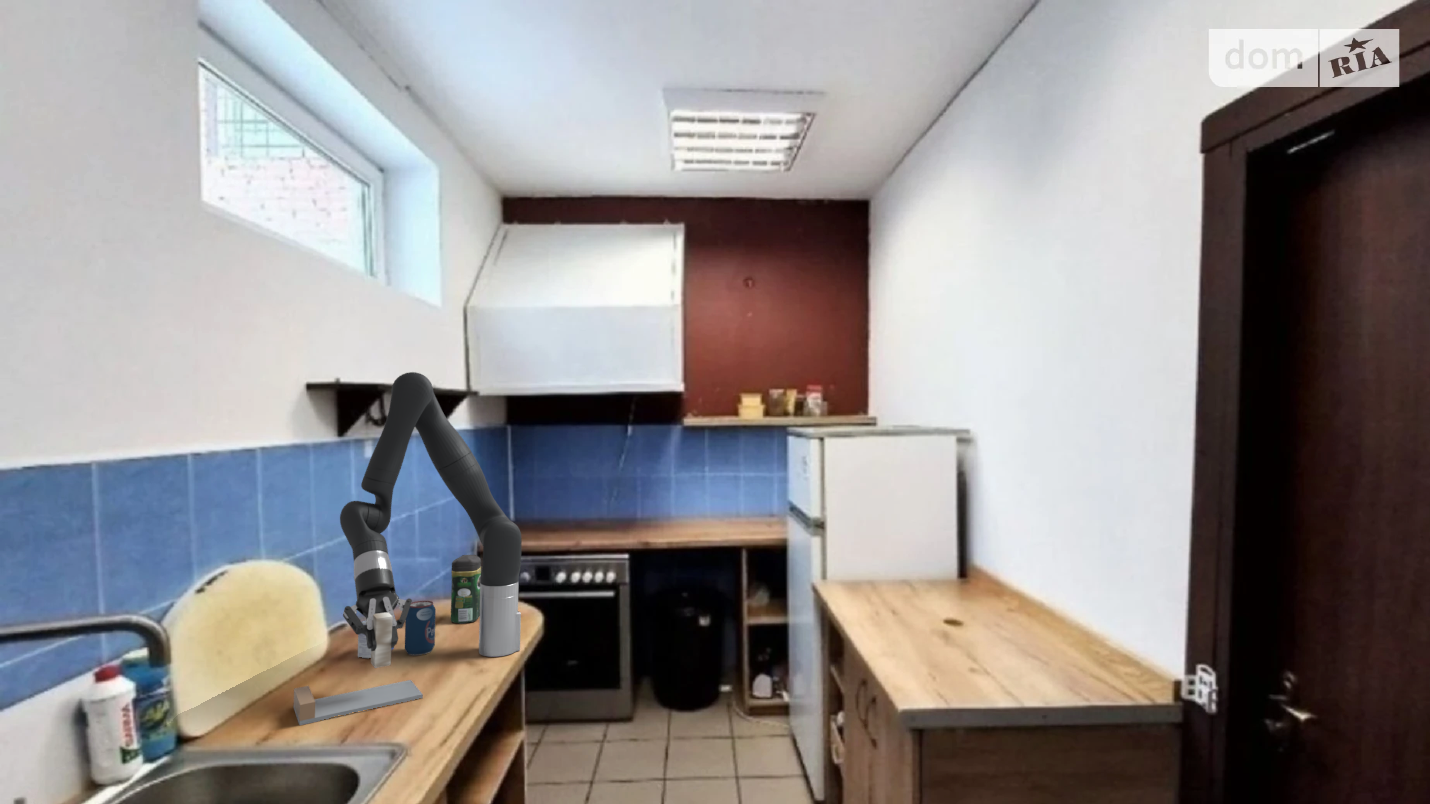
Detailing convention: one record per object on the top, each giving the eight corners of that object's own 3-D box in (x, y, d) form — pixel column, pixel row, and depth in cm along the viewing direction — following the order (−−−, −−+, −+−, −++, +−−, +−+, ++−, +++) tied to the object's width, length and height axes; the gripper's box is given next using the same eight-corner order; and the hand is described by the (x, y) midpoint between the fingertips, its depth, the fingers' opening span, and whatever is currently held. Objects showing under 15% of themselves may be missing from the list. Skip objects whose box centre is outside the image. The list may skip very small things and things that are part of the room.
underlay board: (410, 683, 149) (411, 665, 149) (422, 698, 141) (423, 679, 141) (293, 707, 136) (294, 688, 136) (299, 725, 128) (300, 704, 128)
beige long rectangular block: (386, 659, 144) (388, 612, 144) (390, 665, 140) (392, 616, 141) (370, 662, 142) (372, 614, 142) (374, 668, 139) (376, 618, 139)
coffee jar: (454, 615, 203) (456, 553, 203) (482, 614, 204) (483, 552, 205) (447, 625, 193) (448, 559, 194) (476, 624, 194) (477, 558, 195)
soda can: (433, 654, 168) (434, 605, 168) (403, 657, 166) (404, 608, 166) (435, 646, 174) (436, 599, 175) (405, 648, 172) (407, 601, 173)
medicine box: (372, 659, 164) (374, 623, 165) (356, 658, 165) (357, 622, 165) (394, 649, 172) (395, 614, 172) (379, 647, 173) (380, 613, 173)
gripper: (340, 570, 144) (348, 643, 133) (411, 563, 152) (423, 632, 142) (335, 590, 148) (342, 663, 137) (404, 582, 156) (416, 650, 146)
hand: (383, 647), depth 140 cm, fingers closed on beige long rectangular block, 3 cm apart
